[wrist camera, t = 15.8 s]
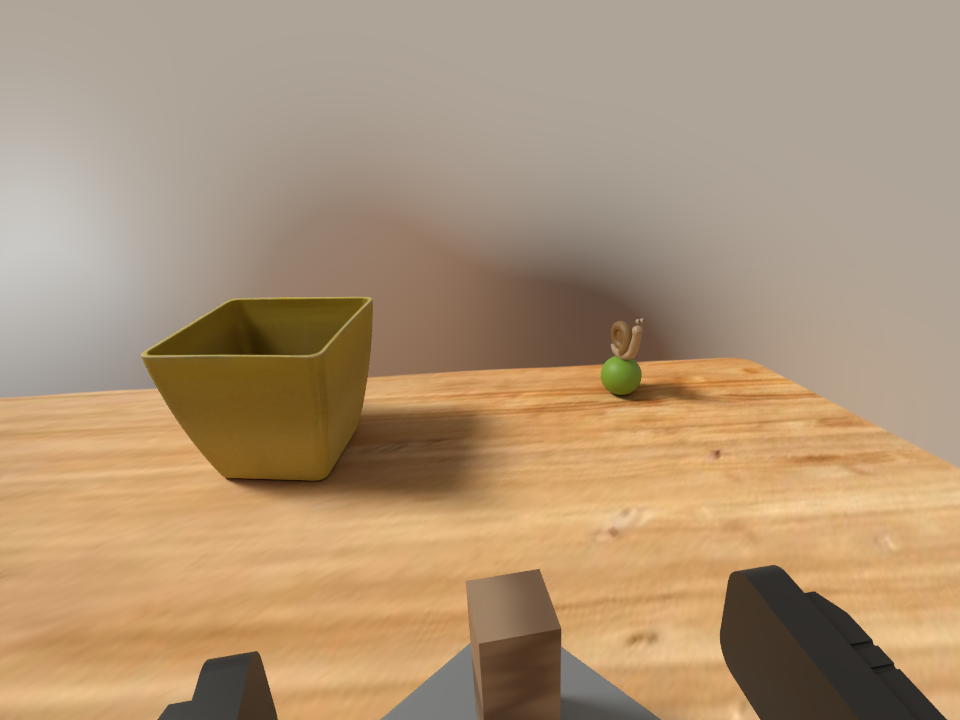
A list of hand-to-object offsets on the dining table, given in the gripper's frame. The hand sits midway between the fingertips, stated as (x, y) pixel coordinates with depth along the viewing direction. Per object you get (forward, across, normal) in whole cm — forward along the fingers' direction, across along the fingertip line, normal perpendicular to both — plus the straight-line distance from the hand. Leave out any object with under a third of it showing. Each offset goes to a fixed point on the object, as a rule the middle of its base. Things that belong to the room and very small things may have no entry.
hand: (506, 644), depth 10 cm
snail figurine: (+62, -28, +30) cm, 75 cm away
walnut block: (+18, -3, +29) cm, 34 cm away
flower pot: (+58, +15, +30) cm, 67 cm away
